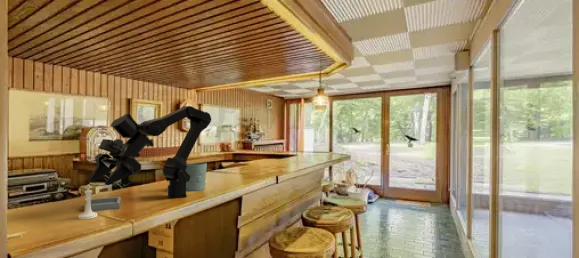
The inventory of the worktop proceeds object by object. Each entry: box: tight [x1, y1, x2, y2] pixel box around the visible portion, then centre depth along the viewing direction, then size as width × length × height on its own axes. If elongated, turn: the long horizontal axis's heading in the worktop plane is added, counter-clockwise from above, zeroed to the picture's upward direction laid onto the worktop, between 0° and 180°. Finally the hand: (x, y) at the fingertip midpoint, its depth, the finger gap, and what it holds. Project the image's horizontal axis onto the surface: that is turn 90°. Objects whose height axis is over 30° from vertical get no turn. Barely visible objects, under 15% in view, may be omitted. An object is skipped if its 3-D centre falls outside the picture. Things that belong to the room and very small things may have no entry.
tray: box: [83, 196, 122, 212], centre depth 99 cm, size 10×10×2 cm
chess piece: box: [77, 184, 98, 220], centre depth 88 cm, size 5×5×10 cm
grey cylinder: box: [186, 162, 208, 192], centre depth 132 cm, size 10×10×12 cm
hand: (98, 182), depth 90 cm, fingers open, 9 cm apart
